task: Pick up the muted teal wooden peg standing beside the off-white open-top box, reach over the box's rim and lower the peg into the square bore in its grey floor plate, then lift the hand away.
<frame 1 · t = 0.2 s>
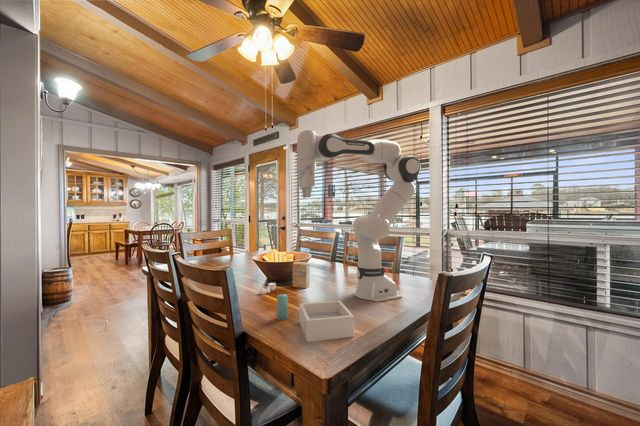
hand: (306, 197, 131), 47 cm above the table, tool pointing down, fingers open, 8 cm apart
supplement box: (301, 287, 155), on the table
peg: (282, 318, 113), on the table
peg box: (325, 328, 103), on the table
game pieces: (267, 292, 147), on the table
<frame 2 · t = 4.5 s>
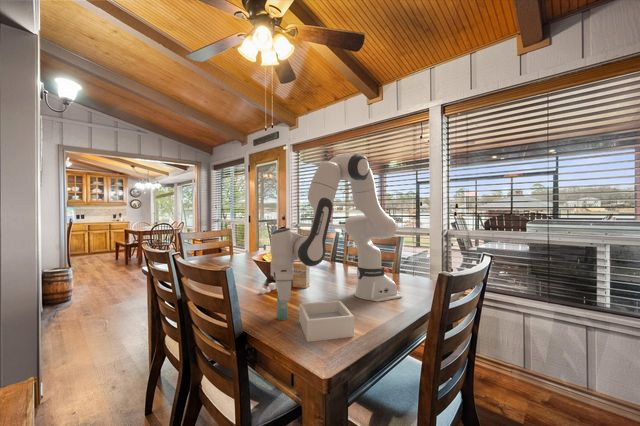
hand: (282, 305, 112), 5 cm above the table, tool pointing down, fingers closed on peg, 4 cm apart
peg: (282, 318, 113), on the table, touching gripper
everything else where it was.
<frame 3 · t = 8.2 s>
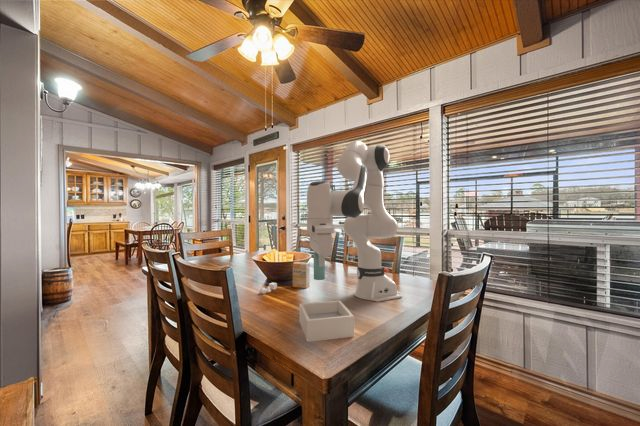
hand: (319, 264, 103), 23 cm above the table, tool pointing down, fingers closed on peg, 4 cm apart
peg: (319, 278, 104), point 18 cm above the table, touching gripper
everything else where it was.
when the fingers open (6 cm above the table, at t = 12.0 s): peg stays where it is, resting in peg box.
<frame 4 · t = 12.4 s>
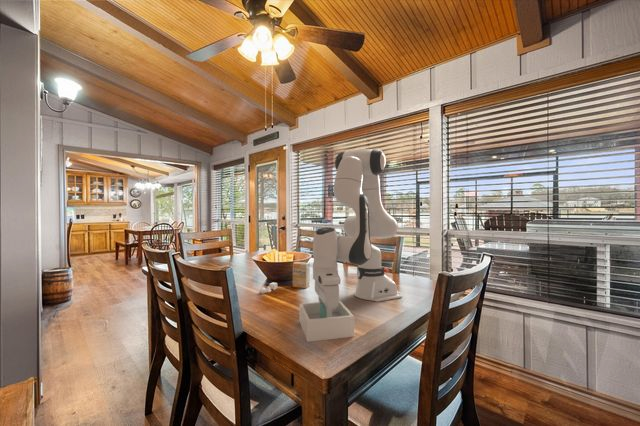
hand: (325, 312, 103), 6 cm above the table, tool pointing down, fingers open, 8 cm apart
peg: (325, 328, 103), resting in peg box
everything else where it was.
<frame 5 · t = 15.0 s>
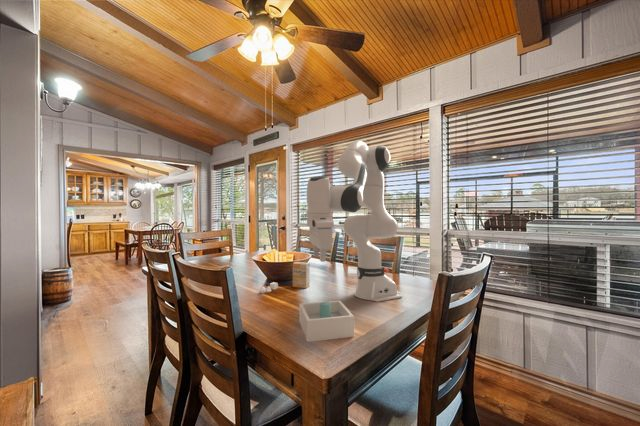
hand: (319, 258, 105), 25 cm above the table, tool pointing down, fingers open, 8 cm apart
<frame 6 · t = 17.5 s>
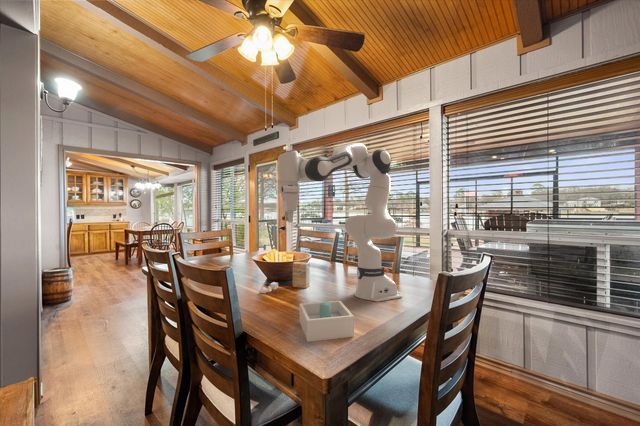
hand: (288, 221, 122), 37 cm above the table, tool pointing down, fingers open, 8 cm apart
at the end: peg 0.1 cm off-centre on the peg box, point 0.0 cm above the peg box's base; peg tilted 0°; the gripper is holding nothing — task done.
